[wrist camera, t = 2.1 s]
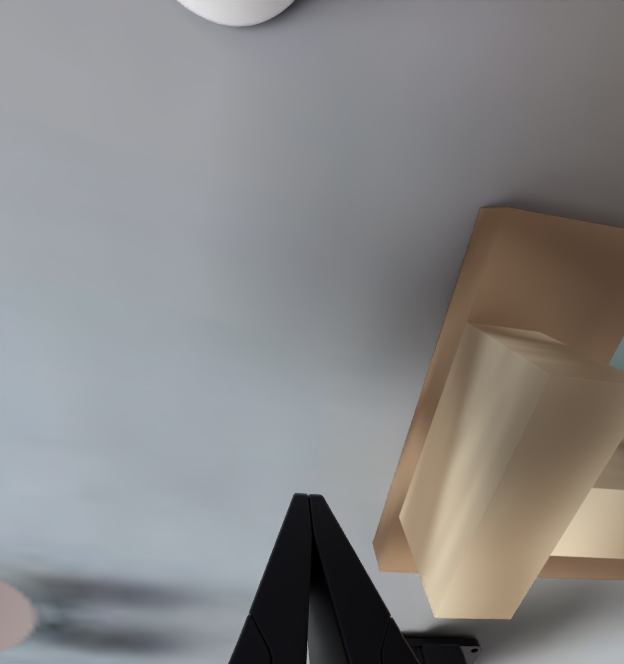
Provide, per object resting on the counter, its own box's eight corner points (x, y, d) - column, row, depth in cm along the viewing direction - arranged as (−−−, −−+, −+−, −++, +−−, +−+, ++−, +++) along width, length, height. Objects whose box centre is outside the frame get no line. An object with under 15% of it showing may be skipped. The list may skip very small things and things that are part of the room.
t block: (398, 516, 15) (435, 618, 11) (466, 322, 12) (551, 374, 8) (582, 527, 16) (671, 621, 12) (695, 353, 13) (864, 411, 9)
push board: (645, 555, 20) (672, 582, 18) (372, 543, 18) (379, 571, 16) (861, 276, 14) (927, 284, 12) (480, 207, 12) (506, 207, 10)
